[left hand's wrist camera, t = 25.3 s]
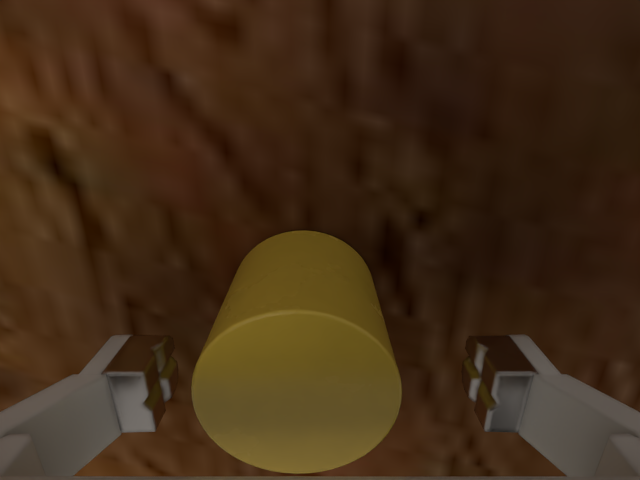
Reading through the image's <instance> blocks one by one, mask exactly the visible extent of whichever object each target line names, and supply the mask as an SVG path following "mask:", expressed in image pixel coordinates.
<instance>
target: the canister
mask: <svg viewBox="0 0 640 480" xmlns="http://www.w3.org/2000/svg"><path fill="white" fill-rule="evenodd" d="M191 393H192V401H193V406H194V410H195V413H196V415H197V418H198V420H199V422H200V424H201V425H202V427H203V429H204V430H205V431H206V433H207V434H208V435H209V437H210V438H211V439H212V440H213V441H214V442H215V443H216V444H217V445H218V446H220V447H221V448H222V449H223V450H225V451H226V452H227V453H229V454H230V455H232V456H234V457H235V458H237V459H239V460H241V461H243V462H245V463H247V464H250V465H253V466H256V467H258V468H262V469H266V470H270V471H275V472H282V473H294V474H299V473H315V472H322V471H326V470H331V469H335V468H338V467H341V466H344V465H346V464H349V463H351V462H353V461H355V460H357V459H359V458H361V457H362V456H364V455H366V454H367V453H368V452H370V451H371V450H372V449H374V448H375V447H376V446H377V445H378V444H379V443H380V442H381V441H382V440H383V439H384V438H385V437H386V435H387V434H388V433H389V431H390V430H391V428H392V426H393V425H394V423H395V421H396V418H397V416H398V413H399V409H400V405H401V400H402V384H401V378H400V374H399V371H398V367H397V364H396V360H395V357H394V353H393V350H392V346H391V343H390V339H389V336H388V332H387V329H386V325H385V322H384V318H383V315H382V311H381V308H380V304H379V301H378V297H377V293H376V290H375V286H374V283H373V279H372V276H371V273H370V271H369V269H368V266H367V265H366V263H365V262H364V260H363V259H362V258H361V256H360V255H359V254H358V253H357V252H356V251H355V250H354V249H353V248H352V247H351V246H349V245H348V244H346V243H345V242H343V241H341V240H340V239H338V238H336V237H333V236H331V235H328V234H325V233H320V232H316V231H306V230H304V231H291V232H285V233H281V234H278V235H275V236H273V237H270V238H268V239H266V240H265V241H263V242H261V243H260V244H258V245H257V246H256V247H254V248H253V249H252V250H251V251H250V252H249V253H248V254H247V255H246V257H245V258H244V260H243V261H242V262H241V264H240V266H239V268H238V270H237V272H236V275H235V277H234V279H233V281H232V284H231V286H230V288H229V290H228V293H227V295H226V297H225V300H224V302H223V304H222V306H221V309H220V311H219V313H218V315H217V318H216V320H215V322H214V325H213V327H212V329H211V331H210V334H209V336H208V338H207V341H206V343H205V345H204V347H203V350H202V352H201V354H200V356H199V359H198V361H197V363H196V366H195V369H194V372H193V377H192V384H191Z"/></svg>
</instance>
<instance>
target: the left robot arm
mask: <svg viewBox="0 0 640 480" xmlns="http://www.w3.org/2000/svg"><path fill="white" fill-rule="evenodd" d="M174 349H175V347H174V342H173V338H172V337H171V336H169V335H114V336H111V337H110V339H109V340H108V341H107V342H106V343H105V344H104V346H103V347H102V348H101V349H100V350H99V351H98V352H97V354H96V355H95V356H94V357H93V358H92V359H91V361H90V362H89V363H88V364H87V365H86V366H85V368H84V369H83V370H82V371H81V372H80V373H79V374H73V375H71V376H69V377H67V378H65V379H63V380H61V381H59V382H57V383H55V384H53V385H51V386H50V387H48V388H46V389H44V390H42V391H40V392H38V393H36V394H34V395H32V396H30V397H28V398H26V399H25V400H23V401H21V402H19V403H17V404H15V405H13V406H11V407H9V408H7V409H5V410H3V411H2V412H0V480H640V412H638V411H636V410H634V409H633V408H631V407H629V406H627V405H625V404H623V403H621V402H619V401H617V400H615V399H613V398H611V397H610V396H608V395H606V394H604V393H602V392H600V391H598V390H596V389H594V388H592V387H590V386H588V385H587V384H585V383H583V382H581V381H579V380H577V379H575V378H573V377H571V376H569V375H567V374H561V373H560V372H559V371H558V370H557V369H556V368H555V366H554V365H553V364H552V363H551V362H550V361H549V360H548V358H547V357H546V356H545V355H544V354H543V353H542V351H541V350H540V349H539V348H538V347H537V346H536V344H535V343H534V342H533V341H532V340H531V339H530V337H528V336H526V335H524V334H523V335H506V336H469V337H468V339H467V341H466V347H465V349H466V351H467V353H468V354H469V356H468V357H467V358H466V359H465V360H464V361H463V365H462V382H463V386H464V389H465V392H466V394H467V396H468V398H470V399H471V400H472V401H474V402H475V403H476V405H475V410H474V411H475V413H476V415H477V417H478V419H479V421H480V423H481V425H482V427H483V429H484V431H486V432H519V435H520V436H521V437H523V438H524V439H525V440H526V441H527V442H528V443H530V444H531V445H532V446H533V447H534V448H535V449H537V450H538V451H539V452H540V453H541V454H542V455H543V456H545V457H546V458H547V459H548V460H549V461H550V462H552V463H553V464H554V465H555V466H556V467H557V468H559V469H560V470H561V471H562V472H563V473H564V474H566V475H567V476H568V477H353V476H216V477H102V476H73V475H75V474H76V473H77V472H78V471H79V470H80V469H82V468H83V467H84V466H85V465H86V464H87V463H89V462H90V461H91V460H92V459H93V458H94V457H96V456H97V455H98V454H99V453H100V452H101V451H102V450H104V449H105V448H106V447H107V446H108V445H109V444H111V443H112V442H113V441H114V440H115V439H116V438H118V437H119V436H120V435H121V432H153V431H156V429H157V427H158V425H159V423H160V421H161V419H162V417H163V415H164V413H165V411H166V410H165V405H164V403H165V402H166V401H168V400H169V399H170V398H172V396H173V394H174V392H175V390H176V386H177V381H178V364H177V361H176V360H175V359H174V358H173V357H172V356H171V354H172V353H173V351H174Z"/></svg>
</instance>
